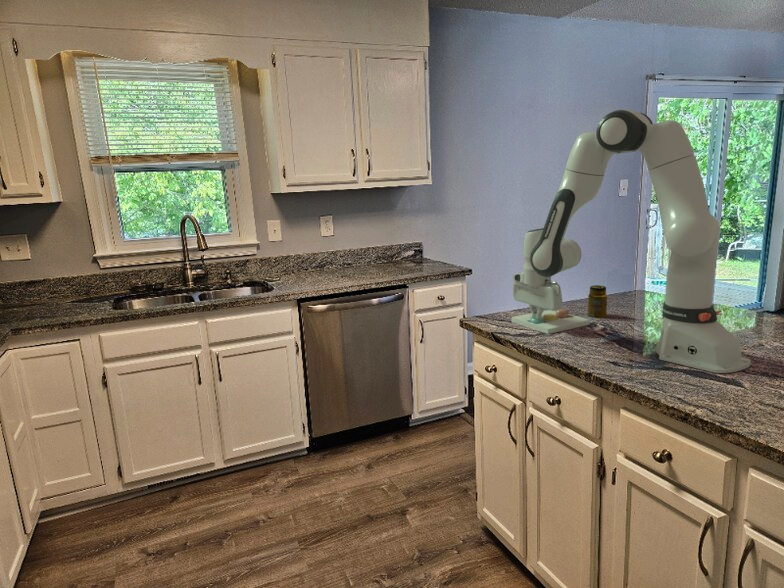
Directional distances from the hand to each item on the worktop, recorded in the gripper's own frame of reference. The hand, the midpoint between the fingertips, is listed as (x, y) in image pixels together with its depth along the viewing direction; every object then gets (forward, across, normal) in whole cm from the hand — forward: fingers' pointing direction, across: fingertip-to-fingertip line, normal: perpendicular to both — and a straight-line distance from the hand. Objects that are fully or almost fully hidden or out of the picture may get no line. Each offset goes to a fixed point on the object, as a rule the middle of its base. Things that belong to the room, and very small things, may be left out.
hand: (536, 318), depth 171 cm
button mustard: (+4, 0, -6) cm, 7 cm away
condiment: (+4, -3, -24) cm, 24 cm away
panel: (+4, 0, -6) cm, 7 cm away
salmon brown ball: (+2, 0, -11) cm, 11 cm away
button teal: (+4, 0, 0) cm, 4 cm away
